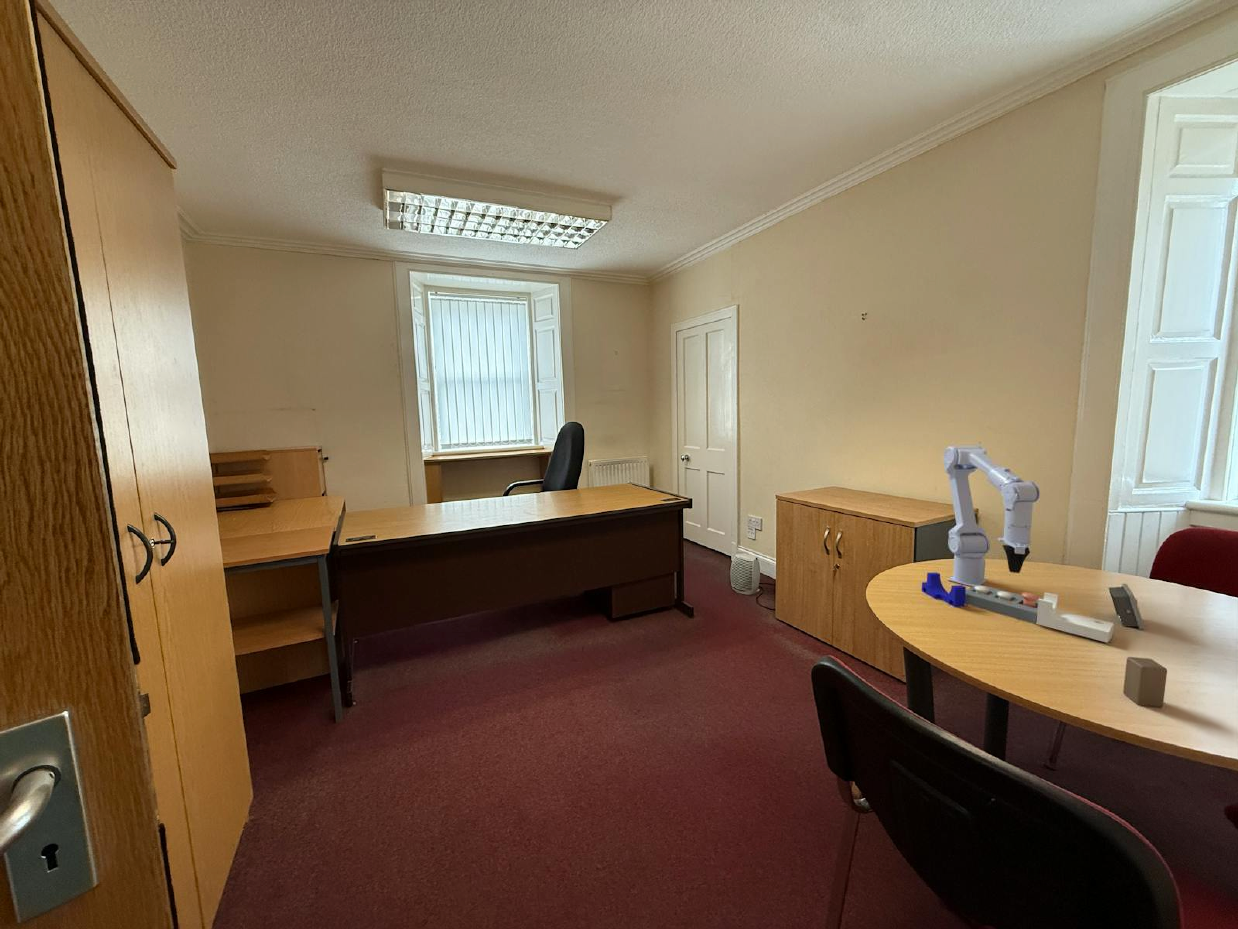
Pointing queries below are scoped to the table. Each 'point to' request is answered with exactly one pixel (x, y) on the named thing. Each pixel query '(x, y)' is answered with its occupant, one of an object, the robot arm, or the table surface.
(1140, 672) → the wooden block
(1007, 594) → the cream plug mid
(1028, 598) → the red plug
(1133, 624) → the electrical switch
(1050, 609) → the bracket
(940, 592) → the blue cradle holder
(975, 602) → the socket strip
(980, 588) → the cream plug near
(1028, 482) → the robot arm
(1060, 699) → the table surface
